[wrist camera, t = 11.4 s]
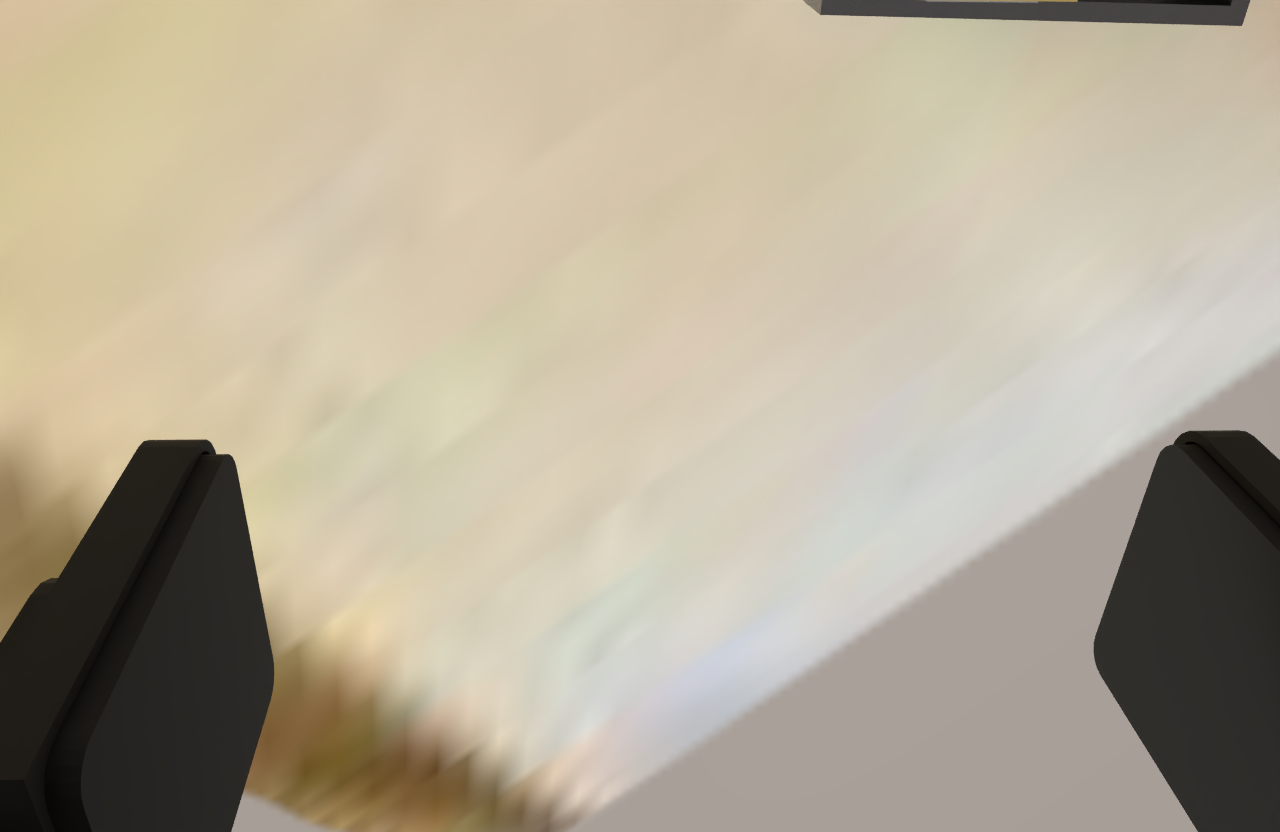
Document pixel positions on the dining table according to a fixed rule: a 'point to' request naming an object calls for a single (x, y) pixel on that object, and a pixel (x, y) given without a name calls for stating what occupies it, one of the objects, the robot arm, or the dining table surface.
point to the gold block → (1019, 0)
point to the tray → (1051, 10)
